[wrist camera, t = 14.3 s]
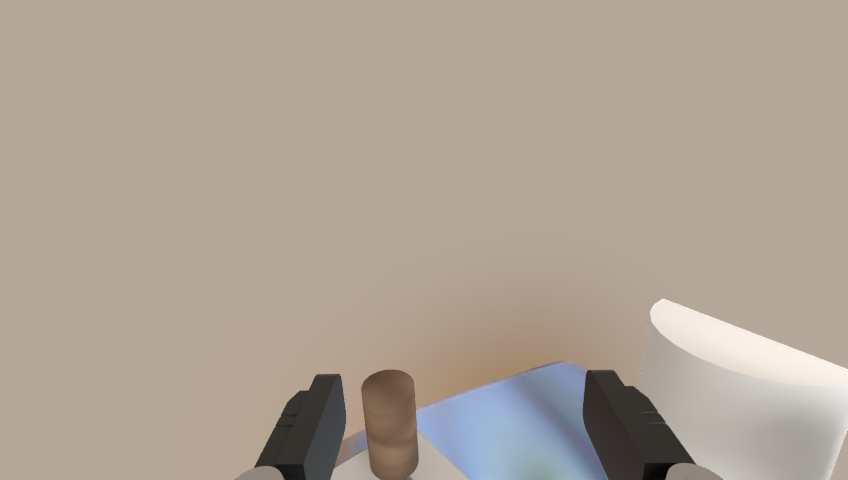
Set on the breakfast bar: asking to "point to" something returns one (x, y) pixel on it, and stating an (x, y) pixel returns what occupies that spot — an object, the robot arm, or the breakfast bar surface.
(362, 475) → the grey upright block
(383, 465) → the plunger
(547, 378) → the breakfast bar surface
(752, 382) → the white stepped oval block
